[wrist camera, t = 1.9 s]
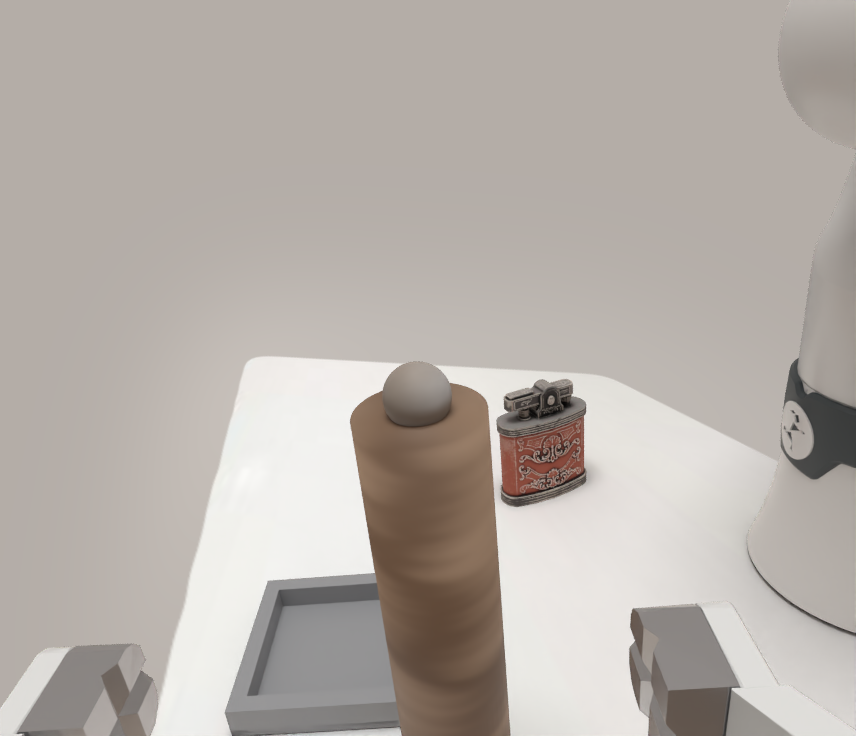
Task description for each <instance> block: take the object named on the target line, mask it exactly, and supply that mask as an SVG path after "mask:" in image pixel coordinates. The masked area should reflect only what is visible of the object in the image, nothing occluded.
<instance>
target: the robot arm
mask: <svg viewBox="0 0 856 736" xmlns="http://www.w3.org/2000/svg"><path fill="white" fill-rule="evenodd" d="M778 61H779V71H780V76H781V81H782V84H783V88H784V90H785V93H786V95H787V98H788V100H789V102H790V103H791V105H792V107H793V108H794V110H795V111H796V113H797V114H798V115H799V117H800V118H801V119H802V120H803V121H804V122H805V123H806V124H807V125H808V126H809V127H810V128H811V129H812V130H814V131H815V132H816V133H818V134H819V135H821V136H822V137H824V138H826V139H828V140H830V141H832V142H834V143H837V144H839V145H842V146H845V147H848V148H852V149H856V0H790V1H789V4H788V6H787V9H786V12H785V15H784V18H783V22H782V26H781V31H780V38H779V47H778ZM805 310H806V311H805V317H804V324H803V332H802V338H801V346H800V353H799V358H798V359H796V360H795V361H794V362H793V364H792V365H791V368H790V371H789V377H788V382H787V388H786V393H785V400H784V407H783V415H782V423H781V448H782V450H781V454H780V457H779V461H778V465H777V468H776V471H775V474H774V477H773V481H772V483H771V486H770V489H769V491H768V494H767V496H766V499H765V501H764V503H763V506H762V508H761V510H760V512H759V513H758V515H757V517H756V519H755V520H754V522H753V524H752V525H751V527H750V529H749V532H748V536H747V547H748V551H749V555H750V557H751V560H752V562H753V564H754V565H755V567H756V569H757V570H758V571H759V573H760V574H761V575H762V576H763V578H764V579H765V580H766V581H767V582H768V583H769V584H770V585H771V586H772V587H773V588H774V589H775V590H776V591H778V592H779V593H780V594H781V595H782V596H784V597H785V598H786V599H788V600H789V601H791V602H792V603H793V604H795V605H796V606H798V607H800V608H801V609H803V610H805V611H806V612H808V613H810V614H812V615H814V616H816V617H818V618H820V619H822V620H824V621H826V622H828V623H830V624H833V625H835V626H838V627H840V628H843V629H845V630H848V631H851V632H854V633H856V154H855V157H854V159H853V162H852V165H851V168H850V171H849V174H848V176H847V179H846V182H845V185H844V187H843V190H842V192H841V195H840V197H839V199H838V202H837V204H836V207H835V209H834V211H833V213H832V215H831V217H830V219H829V221H828V223H827V225H826V226H825V228H824V230H823V231H822V233H821V235H820V237H819V239H818V241H817V244H816V247H815V250H814V254H813V261H812V267H811V274H810V281H809V288H808V295H807V302H806V309H805ZM630 627H631V630H632V633H633V636H634V639H635V642H634V643H633V644H632V645H631V647H630V652H629V664H630V672H631V680H632V685H633V689H634V693H635V697H636V700H637V703H638V706H639V710H640V711H641V712H642V713H644V714H645V715H646V716H647V717H648V718H649V731H648V736H856V730H855V729H854V728H852V727H851V726H849V725H848V724H846V723H845V722H843V721H842V720H840V719H839V718H838V717H836V716H835V715H833V714H832V713H830V712H829V711H827V710H826V709H824V708H823V707H821V706H820V705H818V704H817V703H815V702H814V701H813V700H811V699H810V698H808V697H807V696H805V695H804V694H802V693H801V692H799V691H798V690H796V689H795V688H793V687H792V686H790V685H779V683H778V682H777V680H776V678H775V677H774V675H773V673H772V671H771V670H770V668H769V666H768V665H767V663H766V661H765V659H764V658H763V656H762V654H761V653H760V651H759V649H758V647H757V646H756V644H755V642H754V640H753V639H752V637H751V635H750V634H749V632H748V630H747V628H746V627H745V625H744V623H743V622H742V620H741V618H740V616H739V615H738V613H737V611H736V609H735V608H734V606H733V605H732V604H731V603H729V602H728V601H721V602H709V603H696V604H695V605H694V604H684V605H672V606H659V607H647V608H634V609H633V610H632V613H631V623H630ZM145 661H146V659H145V656H144V654H143V652H142V649H141V647H140V645H136V644H116V645H115V644H114V645H91V646H76V647H57V648H46V649H45V650H43V651H42V652H40V653H39V654H38V655H37V656H36V657H35V659H34V660H33V661H32V663H31V664H30V666H29V667H28V669H27V670H26V672H25V673H24V675H23V676H22V677H21V679H20V680H19V682H18V683H17V685H16V686H15V688H14V689H13V691H12V692H11V693H10V695H9V696H8V698H7V699H6V701H5V702H4V704H3V705H2V707H1V708H0V736H150V735H151V733H152V730H153V728H154V726H155V722H156V716H157V709H158V696H157V689H156V686H155V683H154V681H153V679H152V678H151V677H149V676H148V675H147V674H145V673H144V672H142V671H141V669H142V667H143V665H144V663H145Z"/></svg>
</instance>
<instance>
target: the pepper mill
mask: <svg viewBox="0 0 856 736" xmlns="http://www.w3.org/2000/svg"><path fill="white" fill-rule="evenodd" d="M350 424H351V430H352V436H353V442H354V448H355V454H356V460H357V466H358V472H359V478H360V484H361V491H362V497H363V503H364V509H365V515H366V521H367V527H368V533H369V539H370V545H371V551H372V557H373V563H374V569H375V575H376V582H377V588H378V594H379V600H380V606H381V612H382V618H383V624H384V630H385V636H386V642H387V648H388V654H389V660H390V666H391V673H392V679H393V685H394V691H395V697H396V703H397V709H398V715H399V721H400V727H401V733H402V736H510V723H509V708H508V693H507V679H506V664H505V649H504V634H503V620H502V605H501V590H500V576H499V561H498V546H497V531H496V517H495V502H494V487H493V473H492V458H491V443H490V429H489V414H488V405H487V402H486V400H485V398H484V397H483V396H482V395H481V394H479V393H478V392H476V391H474V390H473V389H470V388H468V387H465V386H462V385H458V384H453V383H449V381H448V379H447V378H446V376H445V375H444V374H443V373H442V371H441V370H439V369H438V368H437V367H435V366H433V365H431V364H429V363H425V362H409V363H406V364H403V365H401V366H399V367H398V368H396V369H395V370H394V371H393V372H392V373H391V374H390V375H389V376H388V378H387V380H386V382H385V384H384V387H383V391H381V392H379V393H376V394H374V395H372V396H371V397H369V398H367V399H366V400H364V401H363V402H362V403H360V404H359V405H358V406H357V407H356V408H355V410H354V411H353V413H352V415H351V419H350Z"/></svg>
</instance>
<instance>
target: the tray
mask: <svg viewBox="0 0 856 736" xmlns="http://www.w3.org/2000/svg"><path fill="white" fill-rule="evenodd" d="M225 715H226V718H227V721H228V724H229V727H230V730H231V734H232V736H253V735H270V734H287V733H303V732H320V731H336V730H353V729H370V728H386V727H400V721H399V715H398V709H397V703H396V697H395V691H394V685H393V679H392V673H391V666H390V660H389V654H388V648H387V642H386V636H385V630H384V624H383V618H382V612H381V606H380V600H379V594H378V588H377V582H376V575H375V573H371V574H357V575H343V576H329V577H315V578H301V579H287V580H273V581H268V583H267V586H266V589H265V592H264V595H263V598H262V601H261V604H260V607H259V610H258V613H257V616H256V619H255V622H254V625H253V628H252V631H251V634H250V637H249V640H248V643H247V646H246V650H245V653H244V656H243V659H242V662H241V665H240V668H239V671H238V674H237V677H236V680H235V683H234V686H233V689H232V692H231V695H230V698H229V701H228V704H227V707H226V710H225Z"/></svg>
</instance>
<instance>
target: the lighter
mask: <svg viewBox="0 0 856 736" xmlns="http://www.w3.org/2000/svg"><path fill="white" fill-rule="evenodd" d="M572 394H573V383H572V381H570V380H568V379H562V380H558V381H555V382H551V383H549V382H547V381H546V380H543V379H542V380H539V381H537V382H535V384H534V386H533V387H532V388H530V389H529V388H525V389H522V390H518V391H515V392H511V393H508V394H506V396H504V409H505V410H506V411H508V412H509V413H506V414H504V415H502V416H500V417H498V419H497V431H498V432H499V433H500V450H501V466H502V482H503V485H502V486H501V499H502V501H503V502H504V503H505V504H507V505H510V506H514V507H519V506H525V505H529V504H534V503H539V502H542V501H545V500H549V499H552V498H555V497H558V496H560V495H562V494H565V493H567V492H570V491H572V490H574V489H575V488H577V487H579V486H581V485H583V484H584V483H585V482H586V469H585V468H584V415H585V414H586V403H585V401H584V400H582V399H580V398H577V397H571V395H572Z"/></svg>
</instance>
